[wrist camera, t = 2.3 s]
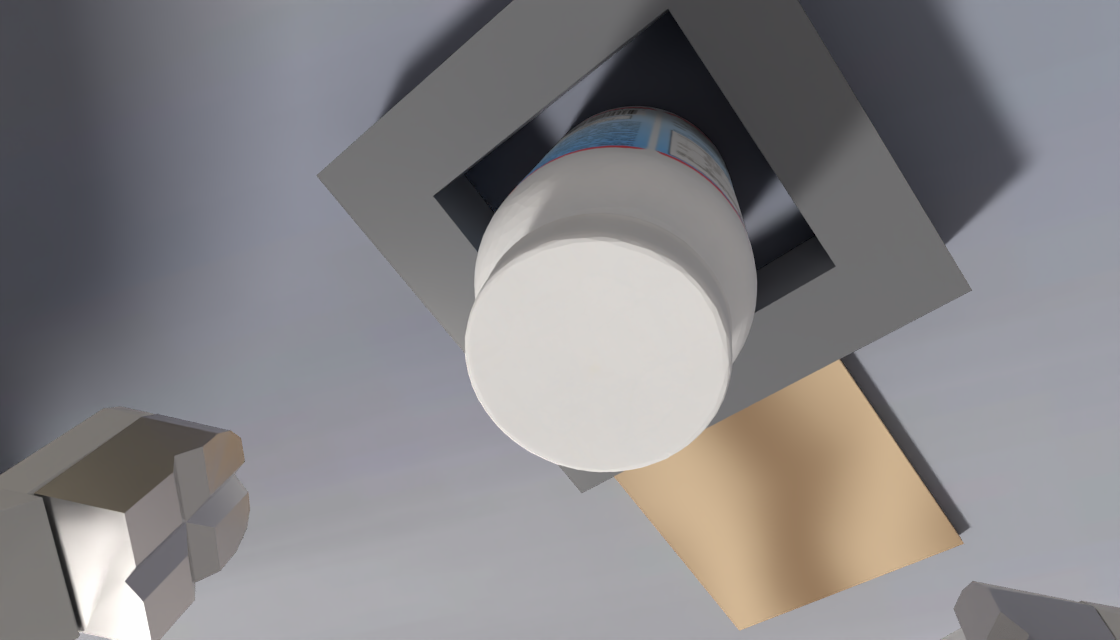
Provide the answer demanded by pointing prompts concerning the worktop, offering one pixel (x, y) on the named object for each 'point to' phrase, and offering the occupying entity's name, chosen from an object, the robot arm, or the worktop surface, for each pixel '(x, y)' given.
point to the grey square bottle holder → (766, 112)
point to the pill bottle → (613, 294)
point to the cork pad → (792, 500)
